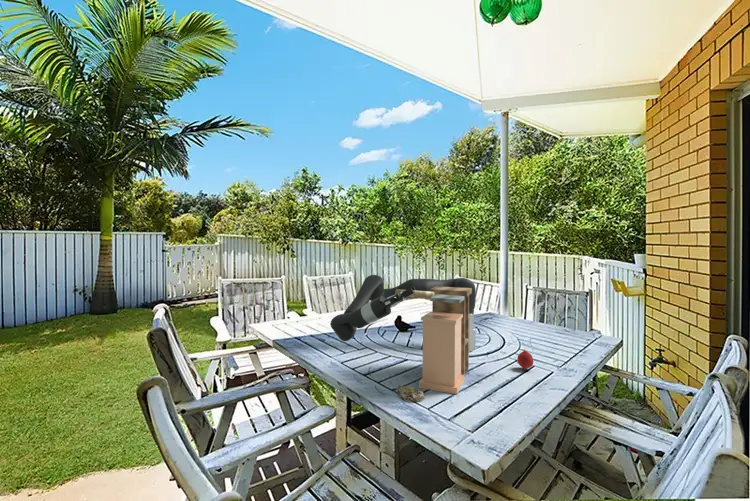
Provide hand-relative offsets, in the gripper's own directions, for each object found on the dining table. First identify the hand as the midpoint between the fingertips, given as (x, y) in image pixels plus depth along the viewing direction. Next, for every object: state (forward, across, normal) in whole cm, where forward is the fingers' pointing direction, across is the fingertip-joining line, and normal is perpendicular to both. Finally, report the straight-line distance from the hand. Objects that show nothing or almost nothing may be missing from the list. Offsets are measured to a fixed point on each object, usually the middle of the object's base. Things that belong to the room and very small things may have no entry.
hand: (413, 289), depth 129 cm
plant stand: (-7, +14, +34) cm, 37 cm away
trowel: (+3, 0, +5) cm, 6 cm away
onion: (+16, +28, +47) cm, 57 cm away
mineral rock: (-13, -14, +30) cm, 36 cm away
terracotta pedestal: (-7, 0, +34) cm, 34 cm away
